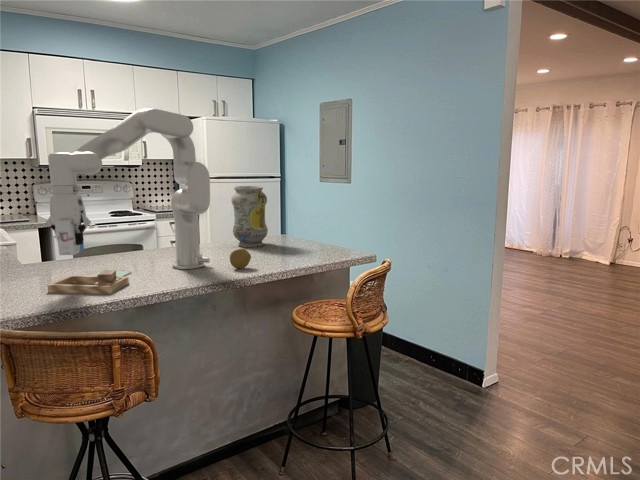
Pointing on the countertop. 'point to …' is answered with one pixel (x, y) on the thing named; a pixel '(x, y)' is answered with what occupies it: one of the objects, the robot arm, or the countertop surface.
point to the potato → (240, 258)
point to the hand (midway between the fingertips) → (70, 243)
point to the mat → (118, 273)
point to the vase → (249, 215)
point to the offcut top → (107, 276)
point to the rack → (65, 286)
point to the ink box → (67, 238)
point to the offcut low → (107, 283)
